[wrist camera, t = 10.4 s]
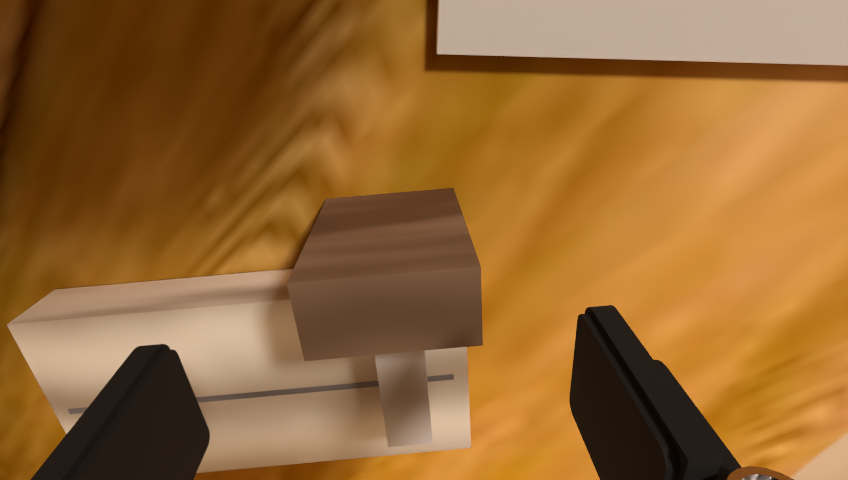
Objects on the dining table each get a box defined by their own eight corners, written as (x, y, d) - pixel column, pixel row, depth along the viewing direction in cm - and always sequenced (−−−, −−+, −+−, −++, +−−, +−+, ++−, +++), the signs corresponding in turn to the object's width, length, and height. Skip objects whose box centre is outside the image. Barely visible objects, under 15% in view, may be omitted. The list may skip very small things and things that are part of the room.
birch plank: (54, 289, 22) (5, 324, 20) (456, 254, 23) (464, 284, 20) (124, 436, 27) (92, 483, 24) (464, 405, 27) (471, 448, 24)
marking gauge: (325, 198, 21) (286, 283, 14) (453, 188, 21) (480, 266, 14) (355, 367, 25) (336, 501, 18) (461, 358, 25) (486, 487, 18)
